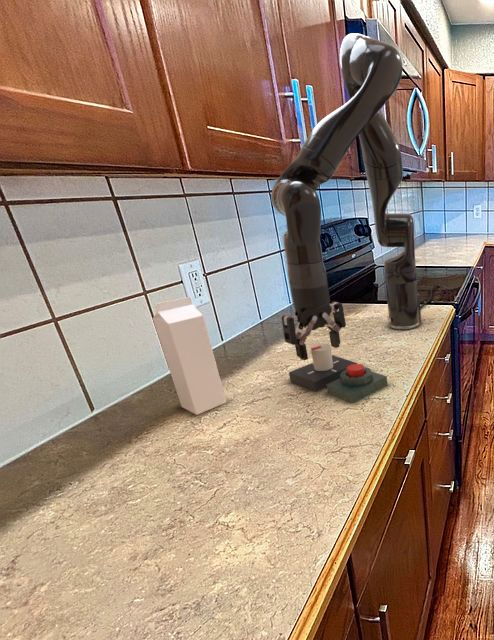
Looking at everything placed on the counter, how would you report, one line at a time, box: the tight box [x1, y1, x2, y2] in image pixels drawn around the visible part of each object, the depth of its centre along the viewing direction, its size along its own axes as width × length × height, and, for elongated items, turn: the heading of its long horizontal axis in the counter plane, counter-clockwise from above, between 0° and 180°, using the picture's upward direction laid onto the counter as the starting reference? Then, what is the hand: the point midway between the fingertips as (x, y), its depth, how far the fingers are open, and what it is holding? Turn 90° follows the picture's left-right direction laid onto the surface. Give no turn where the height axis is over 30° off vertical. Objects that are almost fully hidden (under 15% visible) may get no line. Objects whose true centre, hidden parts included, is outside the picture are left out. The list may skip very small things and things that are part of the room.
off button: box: [347, 363, 365, 377], centre depth 90 cm, size 4×4×2 cm
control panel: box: [288, 354, 358, 393], centre depth 97 cm, size 12×9×3 cm
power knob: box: [310, 343, 333, 371], centre depth 96 cm, size 4×4×5 cm
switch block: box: [326, 366, 389, 404], centre depth 91 cm, size 10×8×4 cm
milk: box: [152, 296, 227, 416], centre depth 81 cm, size 6×6×22 cm
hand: (320, 352), depth 96 cm, fingers open, 8 cm apart
